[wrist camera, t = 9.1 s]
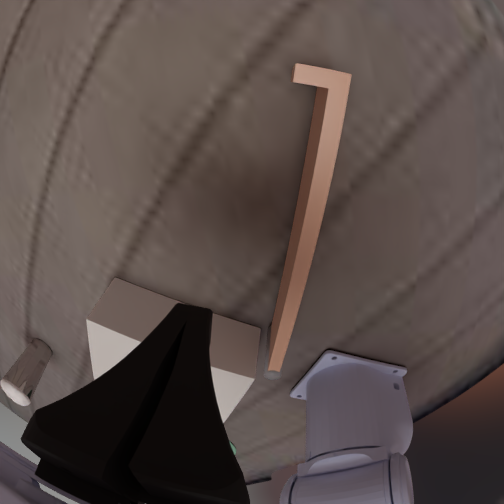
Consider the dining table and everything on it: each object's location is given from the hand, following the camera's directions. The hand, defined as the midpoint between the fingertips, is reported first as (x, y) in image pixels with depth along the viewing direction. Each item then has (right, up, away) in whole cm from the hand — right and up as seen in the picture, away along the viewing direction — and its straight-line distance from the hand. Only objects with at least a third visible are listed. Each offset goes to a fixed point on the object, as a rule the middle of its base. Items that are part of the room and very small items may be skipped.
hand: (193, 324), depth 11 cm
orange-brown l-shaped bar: (+4, +4, +7) cm, 10 cm away
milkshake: (-25, -9, +20) cm, 34 cm away
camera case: (-5, -5, +15) cm, 16 cm away
